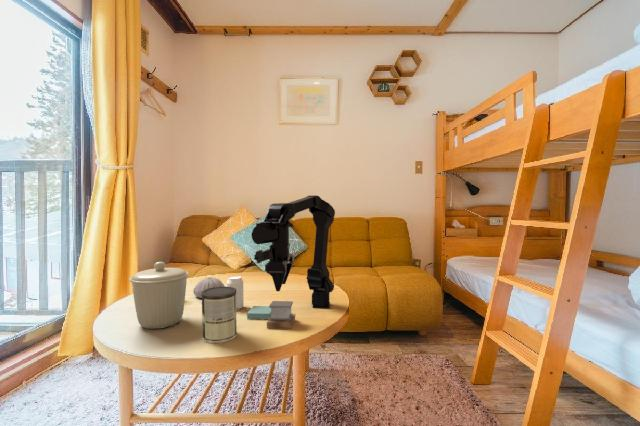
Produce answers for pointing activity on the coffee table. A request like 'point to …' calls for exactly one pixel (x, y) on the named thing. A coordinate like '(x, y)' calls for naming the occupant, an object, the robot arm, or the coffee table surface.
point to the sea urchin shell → (206, 285)
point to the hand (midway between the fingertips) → (280, 287)
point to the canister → (159, 295)
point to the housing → (281, 311)
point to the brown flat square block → (281, 324)
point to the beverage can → (237, 289)
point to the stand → (259, 312)
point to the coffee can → (219, 314)
